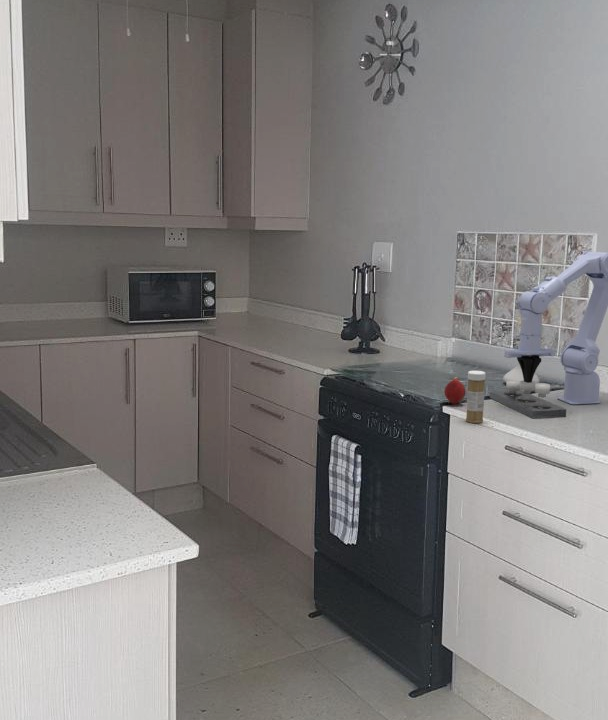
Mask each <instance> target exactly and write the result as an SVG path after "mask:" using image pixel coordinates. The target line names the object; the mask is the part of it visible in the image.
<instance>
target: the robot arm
mask: <svg viewBox="0 0 608 720" xmlns="http://www.w3.org/2000/svg"><path fill="white" fill-rule="evenodd" d="M584 275H585V276H586V277H587V279H589V280H590V281H591V282H592V284H593V289H592V291H591V294H590V297H589V299H588V302H587V305H586V308H585V312H584V314H583V317H582V320H581V323H580V325H579V328H578V331H577V334H576V336H575V337H573V338H572V339H571V340H569V341H568V342H567V344H566V347H564V349H563V351H562V352H561V354H560V363H561V365H562V366H563V371H565V373H564V386H563V387H564V388H563V396H557V399H558V400H560V401H561V402H565V403H567V404H570V405H573V406H574V405H589V404H600V403H601V401H600V400H599V399H600V387H601V378H600V375H599V374H598V373H597V372H596V371H595V370H596V369H597V367H598V366H599V355H600V351H601V350H600V348H599V347H598V345H597V344H596V342H597V338H598V335H599V333H600V329H601V327H602V324H603V321H604V318H605V315H606V312H607V310H608V252H603V251H593V250H586V251H584V252H583V253H582V254H580V255H578V256H577V258H576V260H575V261H574V262H573V263H572V264H571V265H570V266H568V267H567V268H566V269H564V271H562V272H561V273H560V274H559V275H557V276H554V275H551V276H546V277H545V278H544V281H543V282H541V283H540V284H538V285H537V286H534V287H533V288H532V289H531V291H528V290H527V291H524V292H523V293H522V294H521V295H520V297H519V299H518V300H517V304H516V305H517V307H518V309H519V311H520V313H519V316H520V315H521V329H520V328H519V330H520V332H519V333H520V334H519V341H520V346H519V349H518V348H514V349H513V348H512V349H505V350H504V358H507V359H511V358H516V360H517V363H518V362H519V364H520V367H521V370H522V373H523V379H524V382H527V383H531V382H532V379H533V376H534V373H535V374H536V371H537V370H538V367H539V366H540V365H541V363H542V358H541V357H552V358H553V357H555V349H552V348H541V343H542V340H541V337H542V329H543V328H542V327H543V323H542V319H543V318H542V316H544V315H543V314H544V312H546V311H547V310H548V307H549V305H550V304H551V302H552V301H554V300H555V299H556V298H558V297H559V296H561V295H562V294H563V293H564V292H565V289H566V288H565V287H566V286H568V285H569V284H571V283H573V282H574V281H576V280H577V279H579V278H580V277H582V276H584ZM525 354H527V355H525Z"/></svg>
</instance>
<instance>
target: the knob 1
mask: <svg viewBox="0 0 608 720" xmlns="http://www.w3.org/2000/svg"><path fill="white" fill-rule="evenodd" d="M505 383H506V384H505V385H506V386H505V387H506V388H505V389H506V391H509V390H510V391H509V393H510V394H516V392H517V391H519V390H520V382H519V381H507V382H505Z"/></svg>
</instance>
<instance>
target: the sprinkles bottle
mask: <svg viewBox="0 0 608 720" xmlns="http://www.w3.org/2000/svg"><path fill="white" fill-rule="evenodd" d="M485 382H486V372H485V371H483V370H482V371H481V370H469V371H468V372H467V390H466V392H467V393H466V394H467V395H466V415H465V416H466V418H465V422H468V423H470V424H471V423H472V424H481V423H483V422H484V419H483V418H484V417H483V416H484V406H485Z"/></svg>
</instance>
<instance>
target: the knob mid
mask: <svg viewBox="0 0 608 720" xmlns="http://www.w3.org/2000/svg"><path fill="white" fill-rule="evenodd" d="M520 390H522V391H524V392H523V393H524V394H531V395H532V393H531V392H533V391H534V392H535V382H534V381H532V382H531V383H527V382H524V380H523V381H520Z"/></svg>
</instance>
